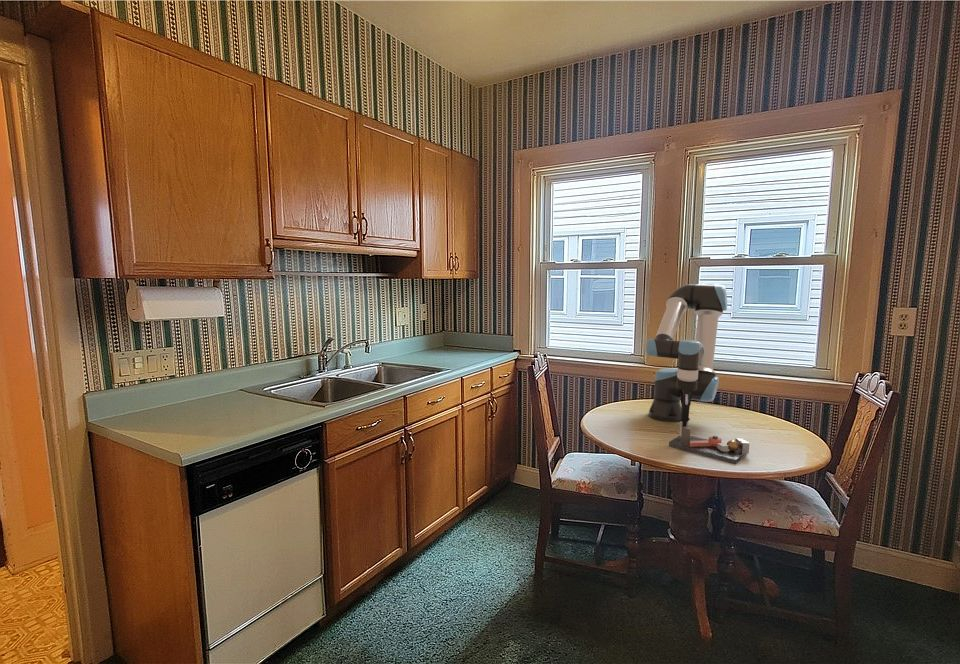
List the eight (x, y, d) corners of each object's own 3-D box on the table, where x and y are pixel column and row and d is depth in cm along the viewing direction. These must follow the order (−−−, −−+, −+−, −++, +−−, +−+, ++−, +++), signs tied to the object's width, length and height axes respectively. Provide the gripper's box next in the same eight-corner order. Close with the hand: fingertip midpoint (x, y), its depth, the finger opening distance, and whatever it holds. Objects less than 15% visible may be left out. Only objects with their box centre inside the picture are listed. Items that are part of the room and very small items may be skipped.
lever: (690, 452, 167) (691, 434, 166) (678, 443, 176) (679, 426, 175) (730, 451, 169) (732, 432, 168) (716, 442, 177) (717, 425, 176)
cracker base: (668, 446, 179) (669, 432, 178) (682, 437, 188) (683, 424, 188) (740, 465, 161) (741, 450, 160) (751, 454, 171) (752, 440, 170)
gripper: (676, 374, 186) (673, 429, 190) (677, 382, 175) (673, 440, 178) (696, 376, 184) (692, 431, 187) (698, 384, 172) (694, 443, 175)
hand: (683, 435), depth 183 cm, fingers closed
